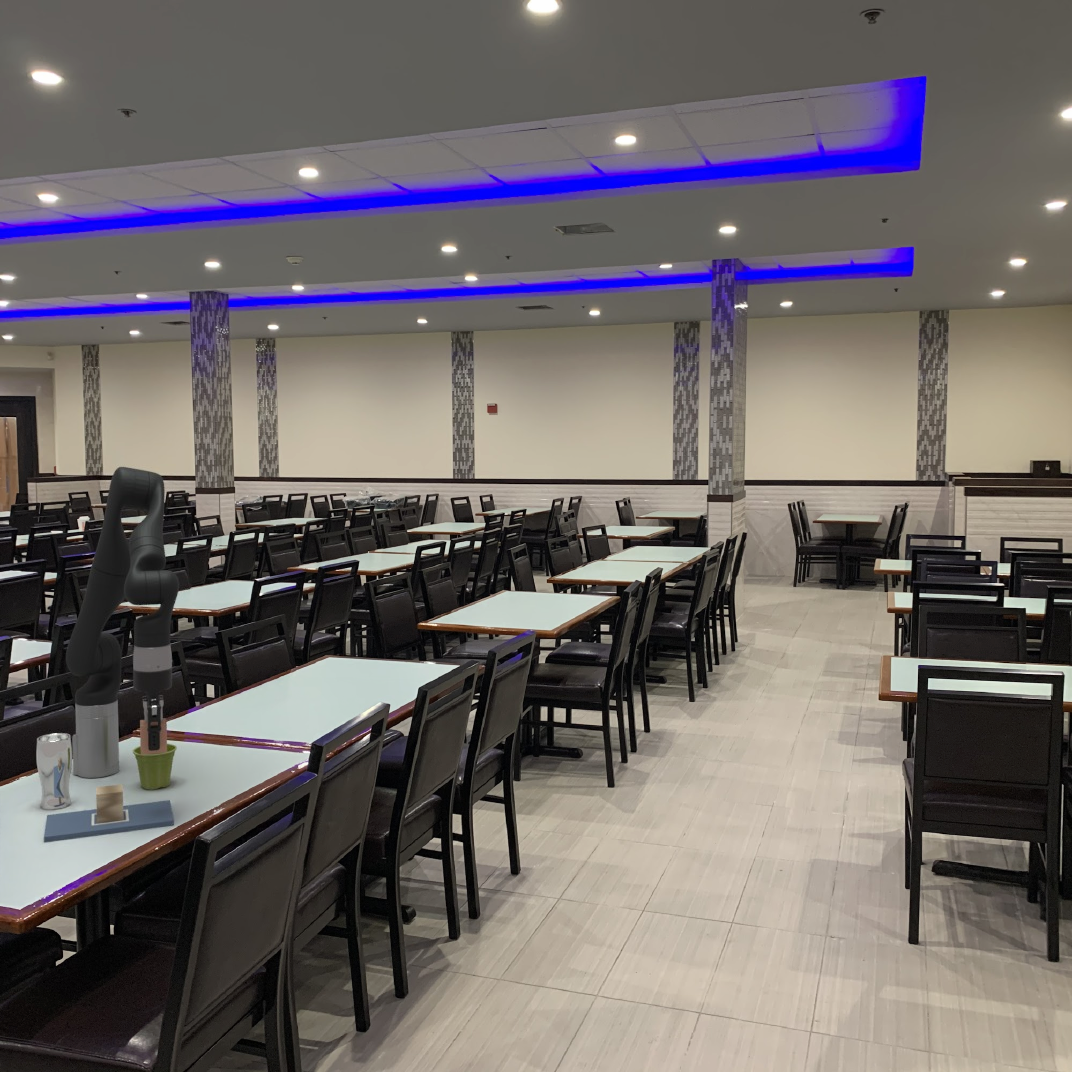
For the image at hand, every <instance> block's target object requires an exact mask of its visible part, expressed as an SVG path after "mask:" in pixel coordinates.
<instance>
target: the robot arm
mask: <svg viewBox="0 0 1072 1072" xmlns="http://www.w3.org/2000/svg"><path fill="white" fill-rule="evenodd" d="M165 495H166V494H165V481H164V479H163V477H162V475H161V474H160V473H157V472H155V471H150V470H144V469H139V468H133V467H126V466H119V467H117V468H116V469H115V470H114V472H113V475H112V477H111V480H110V484H109V489H108V493H107V501H106V504H105V510H104V511H105V512H104V517H103V523H102V525H101V526H102V527H101V531H100V535H99V539H98V543H97V545H96V550H95V553H94V556H93V560H92V564H91V567H90V571H89V575H88V580H87V585H86V590H85V594H84V597H83V601H82V603H81V606H80V611H79V614H78V617H77V619H76V621H75V624H74V627H73V630H72V632H71V636H70V638H69V640H68V644H67V648H66V653H65V664H66V666H67V668H68V670H69V672H70V673H71V674H72V675H73V676H76V677H87V676H89V678H88V680H87V681H86V682H85V683H84V684H83V685H82V686H81V687H79V689H77V690H76V692H75V695H74V701H75V704H74V705H75V707H74V708H75V733H74V734H73V735H72V736H71V739H72V740H71V744H72V768H73V769H72V773H73V775H74V776H78V777H80V778H84V779H87V778H89V779H91V778H92V779H94V778H104V777H108V776H112V775H114V774H116V773H118V772H119V771H120V759H119V758H120V747H119V746H120V744H119V743H120V742H119V741H120V740H119V707H118V706H119V704H118V703H119V702H118V701H119V699H118V693H119V691H120V688H121V685H122V684H121V683H122V681H121V679H122V677H121V675H122V649H121V645H120V643H119V640H118V639H117V637H116V636H115V635H113V634H112V633H109V632H103V630H104V628H105V626H106V623H107V622H108V620H109V619H110V618H111V616H112V615H113V614H114V613H115V611H116V610H117V609H118V608H119V607H120V605H121V604H122V603H123V601H124V600H125V599H126V600H127V602H128V603H129V604H131V605H133V606H152V605H153V606H154V605H156V606H157V605H159V608H158V609H157V610H156V611H155V612H153V613H150V614H146V615H142V616H140V617H137V618H136V619H135V620H134V625H133V632H134V633H133V639H134V640H133V643H134V645H133V647H134V648H133V653H132V654H133V655H132V664H133V668H132V669H133V670H132V671H133V674H132V676H133V677H132V678H133V681H132V684H133V689H134V690H135V691H136V692H141V693H144V692H145V694H144V696H142V708H143V715H144V720H145V721H146V722H147V725H148V728H147V731H148V749H149V750H150V751H154V750H159V749H160V731H161V720H162V719H163V717H164V716H163V707H164V704H165V703H164V695H163V694H162V695H161V694H160V693H161V691H167V690H170V688H172V686H173V661H172V660H173V656H172V654H173V653H172V648H171V647H172V646H171V623H172V615H173V611H174V607H175V604H176V600H177V598H178V594H179V590H180V581H179V577H178V576H177V574H176V573H175V572H174V571H171V570H166V569H165V568H166V564H167V559H166V552H165V551H166V550H165V545H164V543H165V542H164V531H163V530H164V517H165ZM124 509H126V510H127V509H128V510H134V511H140V512H141V511H142V512H147V514H146V516H145V517H144V518H143V519H142V520H141V521H140V522H139V523H138V524H137V525H136V526H135V528H134V529H133V530H132V532H131V533H130V536H129V539H127V536H126V534H125V530H124V526H123V523H122V513H123V510H124ZM151 722H158V726H150V723H151Z"/></svg>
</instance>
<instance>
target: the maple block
mask: <svg viewBox="0 0 1072 1072" xmlns="http://www.w3.org/2000/svg"><path fill="white" fill-rule="evenodd" d="M123 787H124V786H123V783H121V784H112V785H106V786H105V785H103V786H97V787H96V788H95V789H96V791H95V793H96V796H95V797H96V798H95V799H96V804H95V805H96V809H97V824H98V823H105V822H113V821H121V820H124V817H123V806H124V788H123Z"/></svg>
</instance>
